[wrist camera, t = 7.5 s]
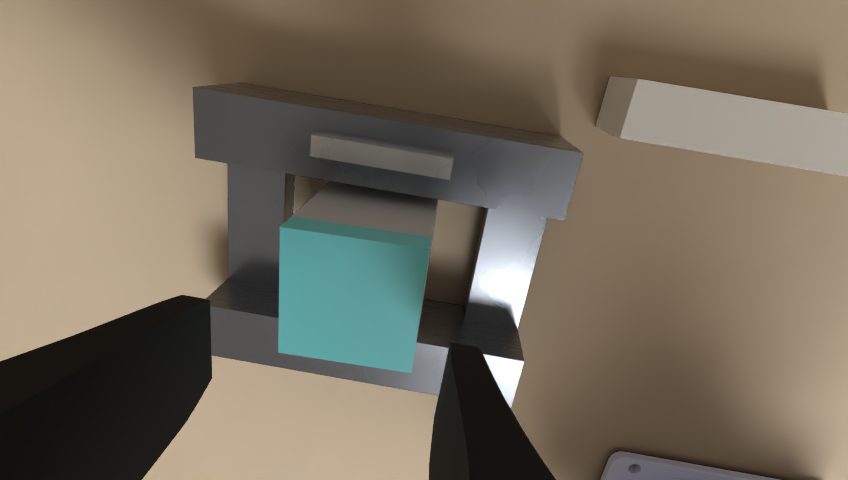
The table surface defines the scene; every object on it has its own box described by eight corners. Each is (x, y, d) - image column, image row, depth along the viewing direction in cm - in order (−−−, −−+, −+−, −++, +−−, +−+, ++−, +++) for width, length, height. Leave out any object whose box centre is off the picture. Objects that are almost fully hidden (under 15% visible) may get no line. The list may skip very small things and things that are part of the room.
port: (561, 136, 15) (586, 155, 12) (503, 356, 19) (511, 414, 16) (241, 82, 16) (186, 87, 12) (240, 310, 19) (197, 358, 16)
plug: (440, 185, 16) (429, 249, 11) (427, 275, 18) (411, 373, 12) (341, 171, 16) (279, 226, 11) (335, 261, 18) (278, 352, 12)
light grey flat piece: (945, -135, 12) (1060, -181, 10) (805, 162, 15) (868, 180, 13) (682, -176, 12) (734, -231, 10) (595, 126, 15) (619, 138, 13)
